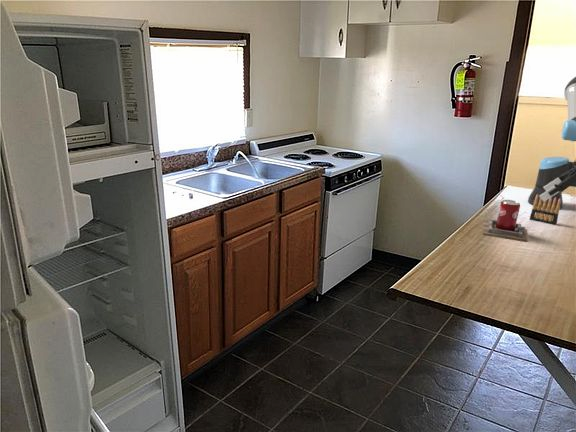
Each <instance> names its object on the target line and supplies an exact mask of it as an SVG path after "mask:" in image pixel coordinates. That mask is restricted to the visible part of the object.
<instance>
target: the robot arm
mask: <svg viewBox="0 0 576 432" xmlns="http://www.w3.org/2000/svg"><path fill="white" fill-rule="evenodd" d="M563 93H564V99H565V100H566V101H567V120H565V121H564V122H563V126H562V129H561V139H562V140H564V141H569V142H570V141H571V142H576V76H574V77H573V78H572V79H570V81H568V83H567V84H566V86H565V88H564V92H563ZM569 187H572V188H576V157H575V158H574V161H570V159H569V157H565V156H564V157H563V156H548V157H547V156H546V157H544V158H542V159H541V160H540V164H539V166H538V172H537V177H536V180H535V185H534V188H533V190H532V191H531V193H530V194H529V195H528V200H527V203H528V204H530V205H532V206H533V203H534V201H535V197H536V195H537V194H538V203H539V200H540V198H541V199H542V205H543V202H544V201H546V200H547V204H548V201H549V198H551V197H552V202H551V206H552V203H553V200H554V198H555V197H556V205H555V208H556V206H557V203H558V200H559V198H561V203H560V209H561V208H562V207H563V203H564V202H563V201H564V200H563V192H564V191H565V190H567V189H568V188H569ZM537 206H538V204H537ZM546 207H547V206H546Z"/></svg>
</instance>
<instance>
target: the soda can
mask: <svg viewBox="0 0 576 432" xmlns="http://www.w3.org/2000/svg"><path fill="white" fill-rule="evenodd" d="M499 204H500V205H499V209H498V215H497V219H496V220H497V223H496V229H500V230H506V231H513V232H514V231H515V227H516V224H517V221H518V217H519V212H520V208H521V203H520V202H519V201H517V200H513V199H502V200H501V201H500V203H499Z"/></svg>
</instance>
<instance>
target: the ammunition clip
mask: <svg viewBox="0 0 576 432" xmlns="http://www.w3.org/2000/svg"><path fill="white" fill-rule="evenodd" d="M551 202H552V197H551V198H549V201H548V204H547V200H546V201H544V202H543V205H542V199H541V198H540V200H539V203H538V194H537V195H536V197H535V201H534V203H533V205H532V208H531V212H530V216H529V219H528V220H530V221H534V222H539V223H544V224H548V225H553V226H557V223H558V219H559V214H560V209H561V208H560V203H561V198H559V200H558V203H557V206H556V208H555V205H556V197H555V198H554V200H553V203H552V206H551ZM537 204H538V206H537ZM546 206H547V207H546Z"/></svg>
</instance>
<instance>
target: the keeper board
mask: <svg viewBox="0 0 576 432" xmlns="http://www.w3.org/2000/svg"><path fill="white" fill-rule="evenodd" d="M496 223H497V219H495V220H494V219H490V218H489V220H484V221H483V232H482V235H483V236H488V237H489V236H490V237H496V238H501V239H502V238H503V239H506V240H507V239H509V240H515V241H520V242H526V243H527V242H528V239H527V238H528V237H527V232H526V231H527V230H526V227H525V226H522V224H521V223H516V227H515V231H514V232H513V231H506V230H500V229H496Z"/></svg>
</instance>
